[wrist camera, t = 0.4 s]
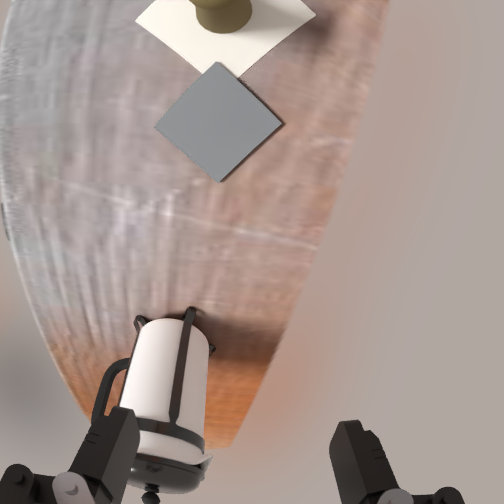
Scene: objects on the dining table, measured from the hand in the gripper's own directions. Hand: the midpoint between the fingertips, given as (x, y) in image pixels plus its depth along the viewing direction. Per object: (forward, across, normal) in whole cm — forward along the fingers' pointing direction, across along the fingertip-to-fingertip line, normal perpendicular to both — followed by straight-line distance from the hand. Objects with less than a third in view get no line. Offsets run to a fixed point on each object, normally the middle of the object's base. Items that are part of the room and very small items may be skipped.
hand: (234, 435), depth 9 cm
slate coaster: (+25, +4, -15) cm, 29 cm away
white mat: (+21, +4, -28) cm, 35 cm away
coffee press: (+35, +12, +18) cm, 41 cm away
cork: (+21, +4, -28) cm, 35 cm away
